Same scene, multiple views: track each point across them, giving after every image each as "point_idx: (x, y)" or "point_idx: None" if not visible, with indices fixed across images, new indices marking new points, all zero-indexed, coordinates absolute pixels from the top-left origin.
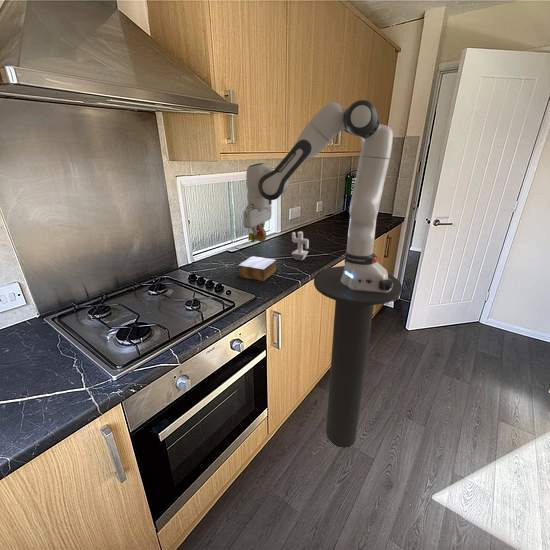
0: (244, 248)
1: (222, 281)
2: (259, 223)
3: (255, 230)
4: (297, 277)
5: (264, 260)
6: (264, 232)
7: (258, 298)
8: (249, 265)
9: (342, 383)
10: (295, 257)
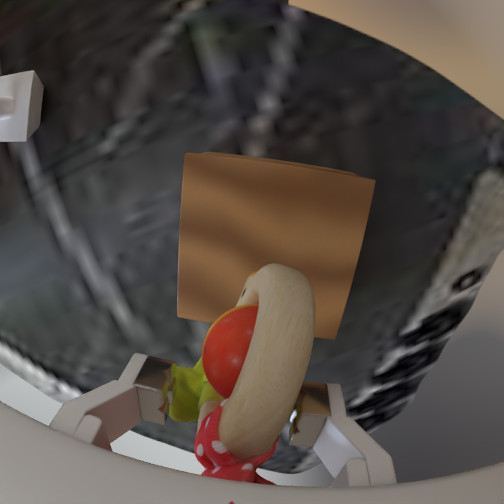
0: (42, 366)
1: (380, 343)
2: (306, 499)
3: (362, 433)
4: (256, 21)
5: (222, 225)
6: (305, 317)
7: (498, 154)
8: (329, 283)
9: (288, 2)
10: (35, 120)
